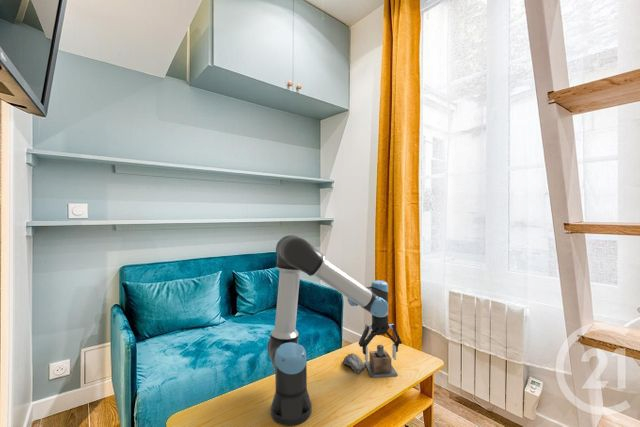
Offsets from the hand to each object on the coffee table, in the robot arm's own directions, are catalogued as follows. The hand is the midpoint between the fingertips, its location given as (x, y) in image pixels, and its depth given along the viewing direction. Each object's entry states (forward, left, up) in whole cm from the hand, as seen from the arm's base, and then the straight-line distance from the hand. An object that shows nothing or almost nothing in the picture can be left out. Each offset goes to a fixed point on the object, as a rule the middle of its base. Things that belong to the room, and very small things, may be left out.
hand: (380, 359), depth 138 cm
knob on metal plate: (0, 0, -5) cm, 5 cm away
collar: (0, 0, -4) cm, 4 cm away
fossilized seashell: (-12, +5, -5) cm, 14 cm away
